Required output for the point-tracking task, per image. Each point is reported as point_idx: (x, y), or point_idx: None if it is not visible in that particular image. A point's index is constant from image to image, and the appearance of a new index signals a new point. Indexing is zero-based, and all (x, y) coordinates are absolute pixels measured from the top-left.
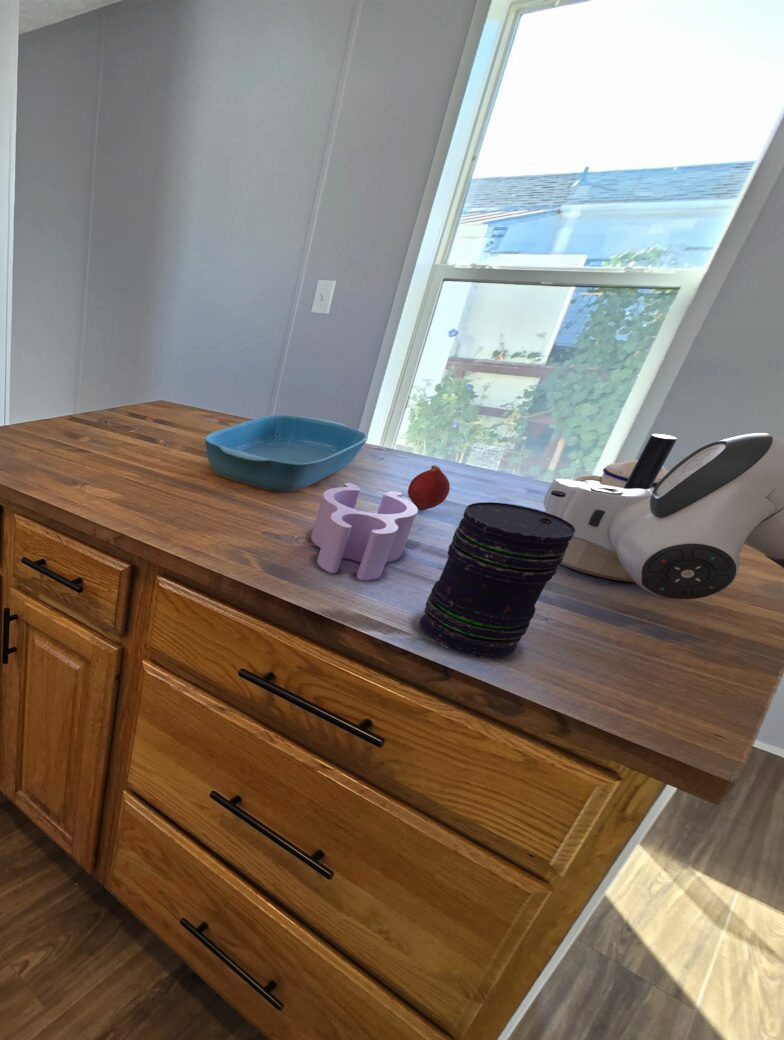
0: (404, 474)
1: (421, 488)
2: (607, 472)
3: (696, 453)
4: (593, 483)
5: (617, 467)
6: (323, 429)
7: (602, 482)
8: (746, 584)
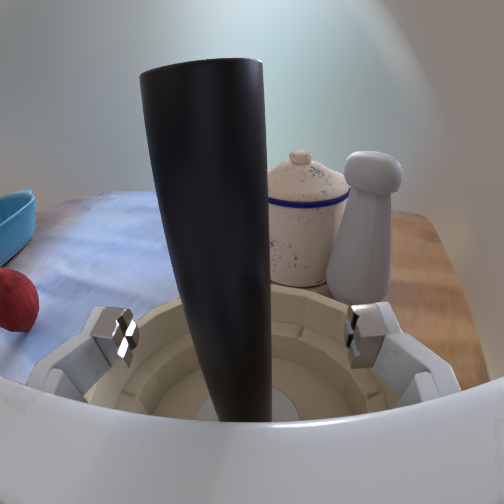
0: (85, 231)
1: None
2: None
3: None
4: (97, 327)
5: None
6: (18, 202)
7: None
8: (468, 384)
